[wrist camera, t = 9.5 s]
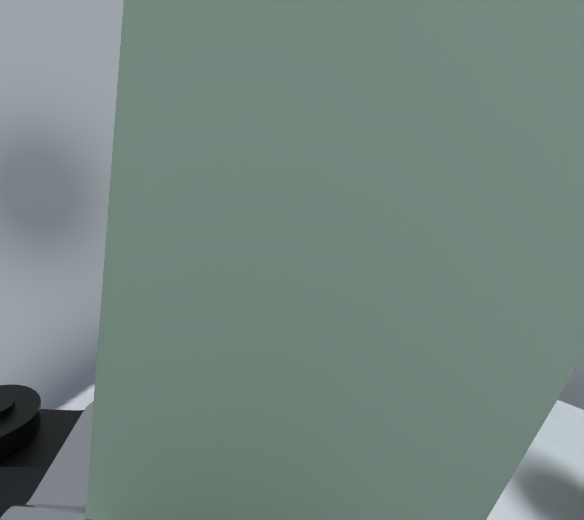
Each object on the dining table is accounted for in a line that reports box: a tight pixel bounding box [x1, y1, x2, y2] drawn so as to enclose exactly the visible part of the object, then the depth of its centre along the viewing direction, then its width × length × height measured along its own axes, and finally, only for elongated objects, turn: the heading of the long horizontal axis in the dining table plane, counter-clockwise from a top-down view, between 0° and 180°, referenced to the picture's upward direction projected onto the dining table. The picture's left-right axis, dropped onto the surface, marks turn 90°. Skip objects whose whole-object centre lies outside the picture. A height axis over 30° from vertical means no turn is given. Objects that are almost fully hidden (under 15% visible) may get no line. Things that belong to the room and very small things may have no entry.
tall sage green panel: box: [85, 0, 584, 520], centre depth 8 cm, size 7×4×18 cm, turn 171°
